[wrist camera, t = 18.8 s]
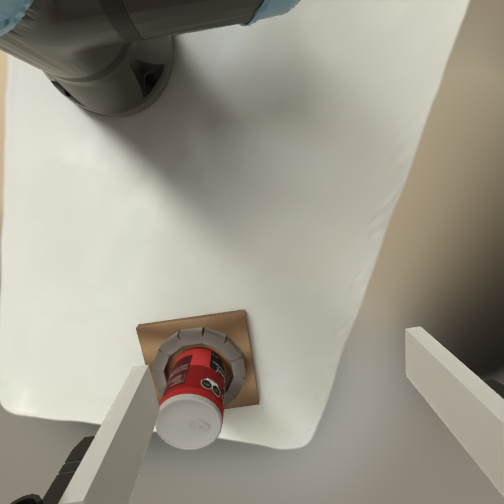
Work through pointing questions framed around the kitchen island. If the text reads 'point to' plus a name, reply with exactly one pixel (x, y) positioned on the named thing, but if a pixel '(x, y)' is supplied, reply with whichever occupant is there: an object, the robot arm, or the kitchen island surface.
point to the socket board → (209, 336)
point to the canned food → (193, 400)
